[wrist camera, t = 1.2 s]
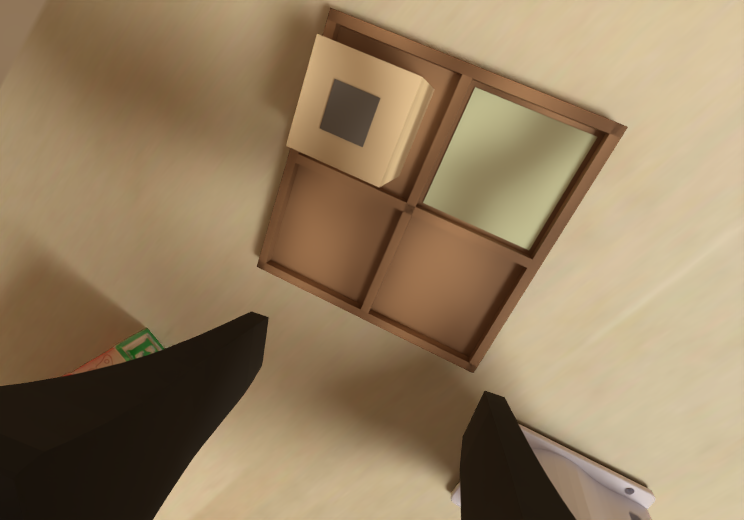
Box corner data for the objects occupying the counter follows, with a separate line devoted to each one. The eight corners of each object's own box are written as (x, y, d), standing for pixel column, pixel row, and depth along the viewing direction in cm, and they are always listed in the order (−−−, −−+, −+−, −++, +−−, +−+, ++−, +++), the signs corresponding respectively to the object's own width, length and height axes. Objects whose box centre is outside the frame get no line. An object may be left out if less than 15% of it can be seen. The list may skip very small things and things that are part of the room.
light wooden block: (434, 89, 18) (422, 76, 14) (398, 176, 20) (378, 187, 16) (351, 55, 19) (316, 33, 15) (324, 143, 21) (285, 145, 16)
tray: (619, 127, 17) (627, 126, 16) (473, 363, 23) (473, 373, 22) (337, 13, 19) (330, 7, 18) (265, 261, 24) (256, 266, 23)
